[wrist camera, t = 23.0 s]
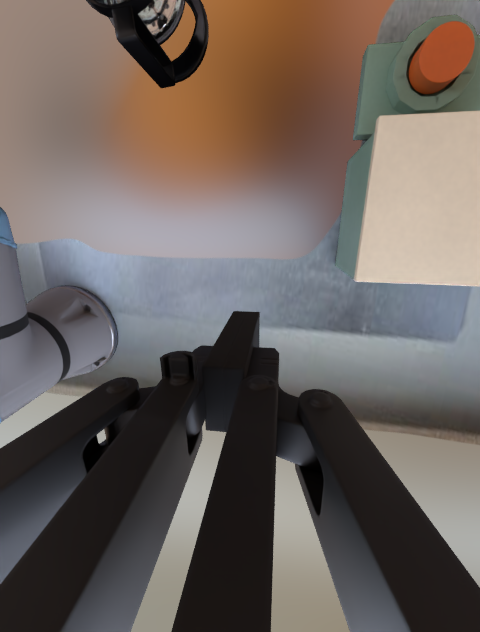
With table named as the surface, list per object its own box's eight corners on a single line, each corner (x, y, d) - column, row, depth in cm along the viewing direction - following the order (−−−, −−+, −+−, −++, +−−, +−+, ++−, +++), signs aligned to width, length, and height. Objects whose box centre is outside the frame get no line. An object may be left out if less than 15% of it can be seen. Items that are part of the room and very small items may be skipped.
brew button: (404, 96, 27) (414, 84, 25) (413, 40, 26) (425, 23, 24) (452, 93, 27) (467, 80, 24) (464, 36, 25) (481, 17, 23)
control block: (352, 140, 32) (361, 128, 28) (363, 48, 29) (375, 22, 26) (465, 136, 30) (490, 123, 26) (488, 37, 27) (519, 7, 24)
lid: (376, 119, 22) (379, 115, 22) (552, 110, 20) (563, 105, 20) (353, 280, 27) (355, 281, 26) (498, 285, 25) (504, 287, 24)
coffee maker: (347, 161, 33) (374, 131, 23) (462, 158, 31) (548, 124, 21) (335, 265, 37) (353, 280, 27) (436, 268, 35) (497, 285, 25)
